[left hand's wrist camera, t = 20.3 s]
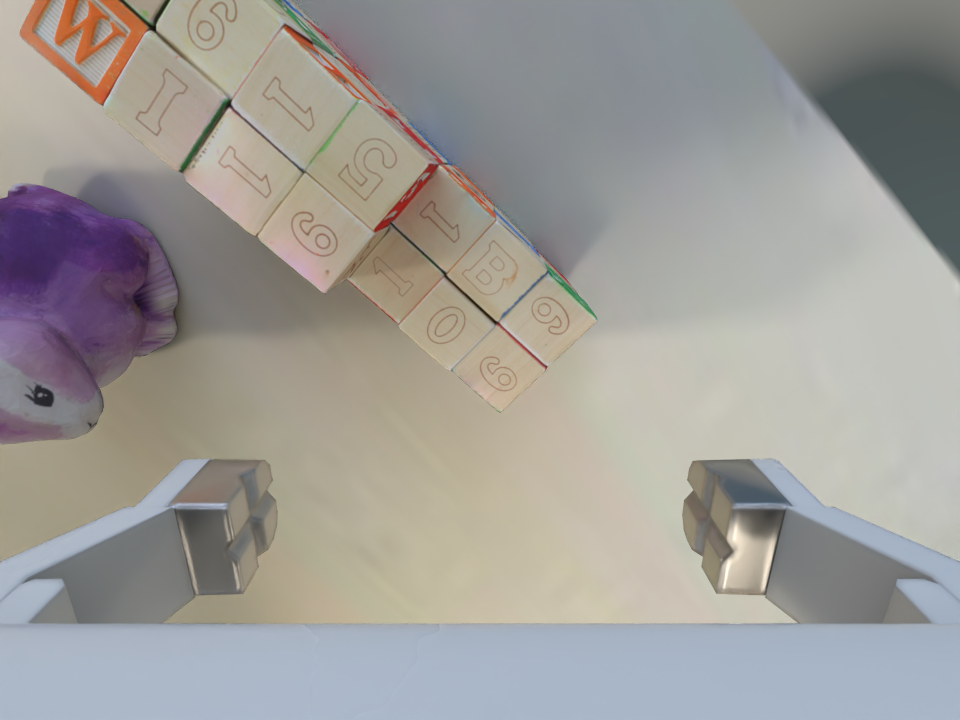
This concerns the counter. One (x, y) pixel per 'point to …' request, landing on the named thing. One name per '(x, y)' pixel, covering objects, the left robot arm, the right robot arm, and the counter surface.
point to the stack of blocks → (321, 173)
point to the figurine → (72, 310)
